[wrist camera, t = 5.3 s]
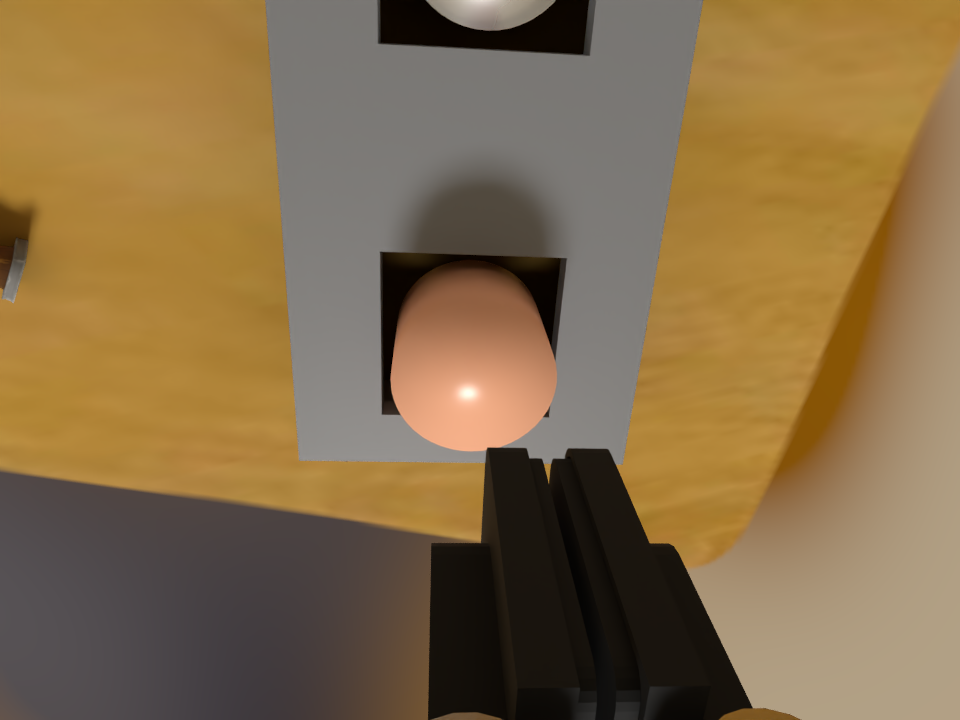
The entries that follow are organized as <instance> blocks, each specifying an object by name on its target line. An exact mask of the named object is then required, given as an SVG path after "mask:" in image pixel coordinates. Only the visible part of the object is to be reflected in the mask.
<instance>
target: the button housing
mask: <svg viewBox="0 0 960 720" xmlns="http://www.w3.org/2000/svg"><path fill="white" fill-rule="evenodd" d="M265 2H266V15H267V29H268V42H269V56H270V70H271V83H272V97H273V110H274V124H275V138H276V151H277V165H278V178H279V192H280V206H281V219H282V233H283V247H284V260H285V274H286V287H287V301H288V315H289V328H290V342H291V355H292V369H293V383H294V396H295V410H296V423H297V437H298V451H299V461H377V462H459V463H485V460H486V450H484V451H459V450H453V449H449V448H445V447H442V446H439V445H437V444H435V443H432V442H430V441H429V440H427V439H425V438H423V437H422V436H421V435H419V434H418V433H417V432H415V431H414V430H413V429H412V428H411V427H410V426H409V425H408V424H407V422H406V421H405V420H404V419H403V417H402V416H401V414H400V412H399V411H398V409H397V407H396V404H395V401H394V399H393V395H392V390H391V380H383V276H382V252H405V253H434V254H463V255H492V256H521V257H550V258H561V263H560V272H559V281H558V290H557V299H556V308H555V318H554V327H553V336H552V345H551V349H552V352H553V355H554V359H555V362H556V369H557V384H556V389H555V394H554V397H553V400H552V402H551V404H550V406H549V408H548V410H547V412H546V413H545V415H544V416H543V418H542V419H541V420H540V421H539V422H538V424H537V425H536V426H535V427H534V428H533V429H531V430H530V431H529V432H528V433H527V434H525V435H524V436H522V437H521V438H519V439H517V440H515V441H514V442H512V443H509V444H507V445H504V446H502V447H498V448H527V451H528V454H529V458H541V459H542V460H543V463H544V464H551V463H552V460H553V458H559V459H565V454H566V451H567V449H568V448H592V449H608V450H609V451H610V453H611V455H612V457H613V460H614V462H615V464H623V459H624V453H625V447H626V441H627V436H628V430H629V424H630V418H631V413H632V407H633V401H634V395H635V390H636V384H637V378H638V372H639V367H640V361H641V355H642V349H643V344H644V338H645V332H646V326H647V320H648V315H649V309H650V303H651V297H652V292H653V286H654V280H655V274H656V269H657V263H658V257H659V251H660V246H661V240H662V234H663V228H664V222H665V217H666V211H667V205H668V199H669V194H670V188H671V182H672V176H673V171H674V165H675V159H676V153H677V148H678V142H679V136H680V130H681V125H682V119H683V113H684V107H685V101H686V96H687V90H688V84H689V78H690V73H691V67H692V61H693V55H694V50H695V44H696V38H697V32H698V27H699V21H700V15H701V9H702V3H703V0H589V6H588V16H587V25H586V34H585V43H584V52H583V54H570V53H553V52H535V51H517V50H499V49H482V48H464V47H446V46H429V45H411V44H393V43H380V0H265Z"/></svg>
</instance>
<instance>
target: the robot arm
mask: <svg viewBox="0 0 960 720" xmlns="http://www.w3.org/2000/svg"><path fill="white" fill-rule="evenodd" d="M429 651H430V652H429V701H428V720H800V719H798V718H796V717H794V716H792V715H790V714H786V713H782V712H778V711H774V710H769V709H766V708H757V709H755V708H752V706H751V703H750V701H749V699H748V697H747V695H746V693H745V691H744V689H743V687H742V685H741V683H740V681H739V678H738V676H737V674H736V672H735V670H734V668H733V666H732V664H731V662H730V660H729V658H728V655H727V653H726V651H725V649H724V647H723V645H722V643H721V641H720V639H719V637H718V635H717V633H716V630H715V629H714V626H713V624H712V622H711V620H710V618H709V616H708V614H707V612H706V610H705V608H704V606H703V604H702V601H701V599H700V597H699V595H698V593H697V591H696V589H695V587H694V585H693V583H692V580H691V578H690V576H689V574H688V572H687V570H686V568H685V566H684V564H683V562H682V560H681V558H680V555H679V554H678V552H677V551H676V549H675V547H674V546H672V545H670V544H650V543H649V541H648V539H647V536H646V534H645V532H644V529H643V527H642V525H641V522H640V520H639V518H638V515H637V513H636V511H635V508H634V506H633V504H632V501H631V499H630V497H629V494H628V492H627V490H626V487H625V485H624V483H623V480H622V478H621V476H620V473H619V471H618V469H617V467H616V464H615V462H614V460H613V457H612V455H611V453H610V451H609V450H608V449H592V448H568V449H567V451H566V454H565V459H559V458H553V460H552V463H551V469H550V480H549V483H548V479H547V475H546V471H545V467H544V463H543V460H542V459H541V458H529V454H528V451H527V448H496V447H487V450H486V460H485V479H484V497H483V516H482V535H481V543H432V544H431V597H430V648H429Z"/></svg>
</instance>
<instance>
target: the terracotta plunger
mask: <svg viewBox="0 0 960 720" xmlns="http://www.w3.org/2000/svg"><path fill="white" fill-rule="evenodd" d="M556 384H557V369H556V362H555V359H554V355H553V352H552V349H551V346H550V343H549V340H548V337H547V334H546V332H545V329H544V326H543V323H542V320H541V317H540V314H539V311H538V308H537V306H536V303H535V301H534V298H533V296H532V295H531V293H530V291H529V290H528V288H527V287H526V286H525V285H524V283H523V282H522V281H521V280H520V279H519V278H518V277H516V276H515V275H514V274H512V273H511V272H510V271H508V270H506V269H504V268H502V267H500V266H498V265H495V264H492V263H489V262H484V261H477V260H461V261H455V262H451V263H447V264H444V265H441V266H439V267H437V268H434V269H433V270H431V271H429V272H428V273H426V274H425V275H424V276H422V277H421V278H420V279H419V280H418V281H417V282H416V283H415V284H414V285H413V286H412V287H411V289H410V290H409V291H408V293H407V294H406V296H405V298H404V300H403V302H402V305H401V307H400V311H399V315H398V321H397V329H396V337H395V345H394V353H393V361H392V369H391V390H392V395H393V399H394V401H395V404H396V407H397V409H398V411H399V412H400V414H401V416H402V417H403V419H404V420H405V421H406V422H407V424H408V425H409V426H410V427H411V428H412V429H413V430H414V431H415V432H417V433H418V434H419V435H421V436H422V437H423V438H425V439H427V440H429V441H430V442H432V443H435V444H437V445H439V446H442V447H445V448H449V449H453V450H459V451H484V450H487V447H496V448H498V447H502V446H504V445H507V444H509V443H512V442H514V441H515V440H517V439H519V438H521V437H522V436H524V435H525V434H527V433H528V432H529V431H530V430H531V429H533V428H534V427H535V426H536V425H537V424H538V422H539V421H540V420H541V419H542V418H543V416H544V415H545V413H546V412H547V410H548V408H549V406H550V404H551V402H552V400H553V397H554V394H555V389H556Z"/></svg>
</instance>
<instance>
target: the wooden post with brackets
mask: <svg viewBox="0 0 960 720" xmlns="http://www.w3.org/2000/svg"><path fill="white" fill-rule="evenodd" d="M27 248H28V240H23V239H19V238H16V241H15V245H14V247H9V246H0V288H2V289H3V295H2V299H7V300H10V301H11V302H12V303H14V300H15V297H16V293H17V290H18V286H19V283H20V280H21V276H22V273H23V269H24V266H25V263H26V256H27Z"/></svg>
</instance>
